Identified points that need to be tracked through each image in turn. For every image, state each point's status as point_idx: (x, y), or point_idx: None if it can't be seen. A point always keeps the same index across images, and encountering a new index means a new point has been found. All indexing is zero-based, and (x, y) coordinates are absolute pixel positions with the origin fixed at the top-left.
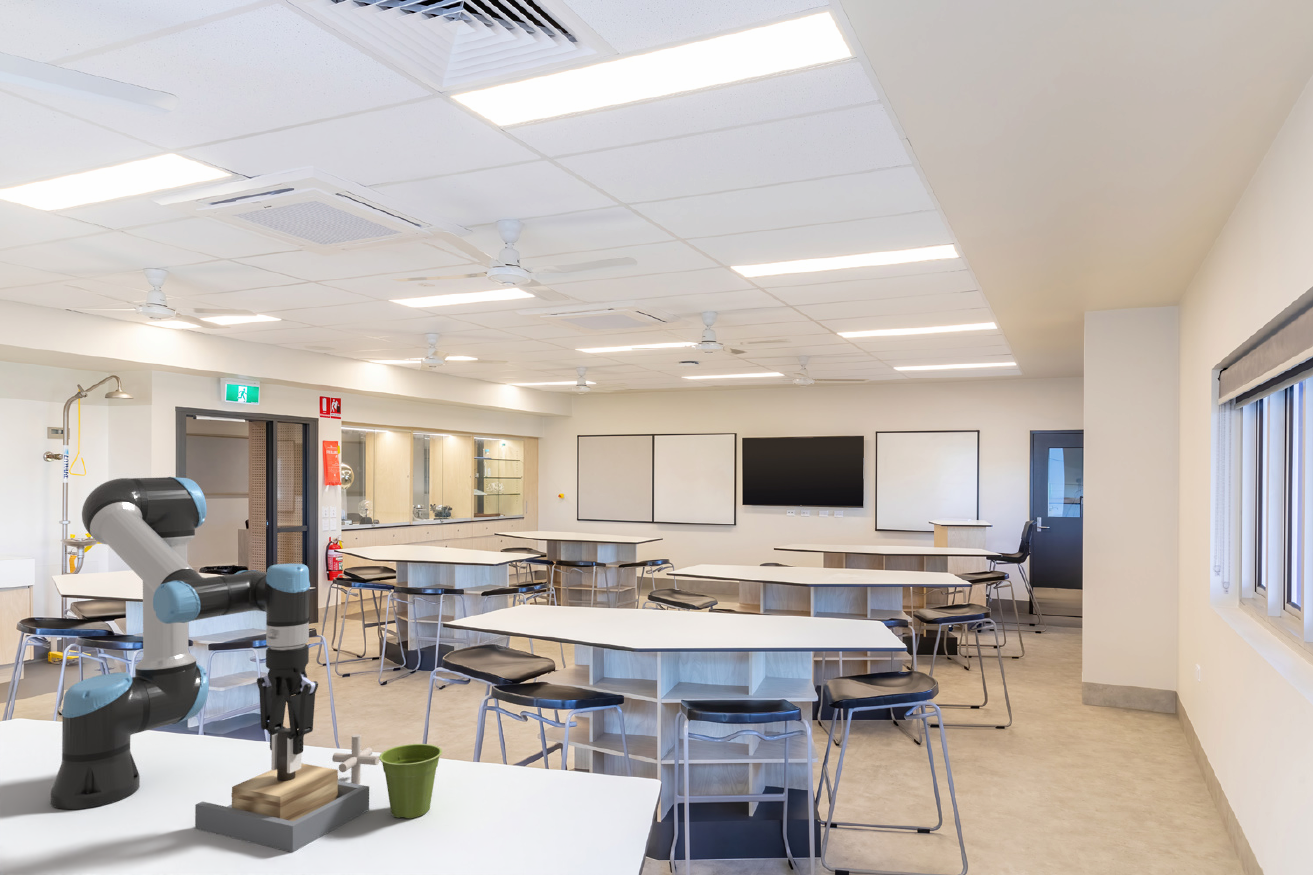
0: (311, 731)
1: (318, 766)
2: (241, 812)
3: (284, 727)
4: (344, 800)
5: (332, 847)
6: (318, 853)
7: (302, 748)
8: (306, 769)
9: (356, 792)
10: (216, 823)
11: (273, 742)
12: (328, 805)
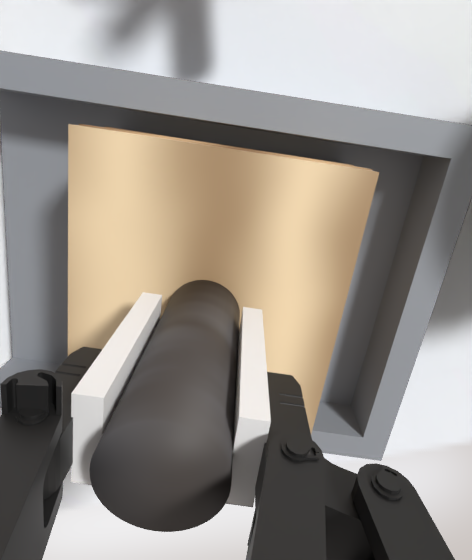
0: (397, 476)
1: (255, 156)
2: None
3: (58, 395)
4: (444, 267)
5: (448, 373)
6: (428, 404)
7: (299, 396)
8: (221, 205)
9: (465, 201)
10: None
11: None
12: (412, 324)
